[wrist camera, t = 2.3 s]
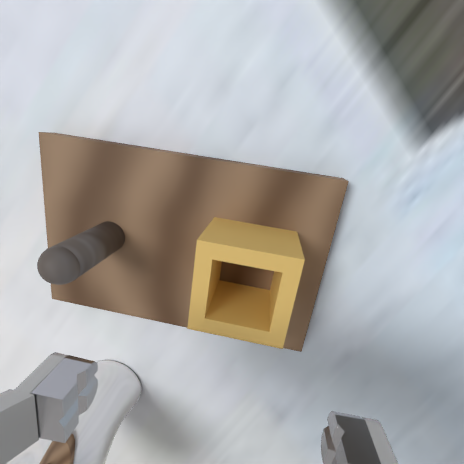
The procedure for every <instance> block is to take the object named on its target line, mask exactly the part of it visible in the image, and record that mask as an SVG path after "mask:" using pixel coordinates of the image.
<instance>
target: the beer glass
mask: <svg viewBox="0 0 464 464" xmlns="http://www.w3.org/2000/svg"><path fill="white" fill-rule="evenodd" d="M97 364H98V371H97V372H96V373H95V377H96V378H97V380H98V388H97V392H96V395H95V397H94V400H93V402H92V404H91V405H90V407H89V408H88V410H87V411H85V412H84V413H82V414H80V415H79V423H78V425H77V426H76V428H75V429H74V431H73V432H72V434H71V435H70V437H69V438H68V440H67V441H66V443H61V442H56V441H51V440H46V439H41V438H39V440H38V441H37V442H35V443H34V444H32V445H31V446H30V447H28V448H27V449H26V450H24V451H23V452H21V453H20V454H19V455H17V456H16V457H14V458H13V459H12V460H10V461H9V462H7V463H6V464H105V462H106V459H107V456H108V453H109V451H110V448H111V445H112V443H113V440H114V437H115V435H116V433H117V431H118V429H119V427H120V425H121V423H122V421H123V420H124V418H125V417H126V416H127V414H128V413H129V412H130V410H131V409H132V408H133V407H134V405H135V404H136V403H137V401H138V400H139V398H140V396H141V391H142V388H141V383H140V381H139V379H138V377H137V376H136V374H135V373H134V372H133V371H132V370H131V369H130V368H128V367H127V366H125V365H124V364H121V363H119V362H116V361H111V360H102V361H98V362H97Z"/></svg>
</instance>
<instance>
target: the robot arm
mask: <svg viewBox="0 0 464 464" xmlns="http://www.w3.org/2000/svg"><path fill="white" fill-rule="evenodd" d="M97 371H98V364H97V362H95V361H90V360H86V359H82V358H78V357H74V356H70V355H65V354H60V353H56V352H55V353H53V354H51V355H50V356H48V357H47V358H46V359H45V360H44V361H43V362H42V363H41V364H40V365H39V366H38V367H37V368H36V369H35V370H34V371H33V372H32V373H31V374H30V375H29V376H28V377H27V378H26V379H25V380H24V381H23V382H22V383H21V384H20V385H19V386H18V387H17V388H16V389H15V390H11V389H9V390H7V391H5V392H3V393H1V394H0V464H6V463H7V462H9V461H10V460H12V459H13V458H14V457H16V456H17V455H19V454H20V453H21V452H23V451H24V450H26V449H27V448H28V447H30V446H31V445H32V444H34V443H35V442H37V441H38V440H39V438H41V439H46V440H51V441H56V442H61V443H66V441H67V440H68V438H69V437H70V435H71V434H72V432H73V431H74V429H75V428H76V426H77V425H78V423H79V415H80V414H82V413H84V412H85V411H87V410H88V408H89V407H90V405H91V404H92V402H93V400H94V397H95V395H96V392H97V388H98V380H97V378H96V377H95V373H96V372H97ZM327 420H328V425H329V426H328V427H326V428H324V430H323V433H322V437H321V454H322V460H323V463H324V464H398V462H397V460H396V458H395V455H394V453H393V451H392V448H391V446H390V444H389V441H388V439H387V436H386V434H385V432H384V429H383V427H382V425H381V423H380V422H379V421H378V420H373V419H368V418H363V417H359V416H354V415H349V414H344V413H339V412H334V411H331V412H330V413H329V416H328V418H327Z"/></svg>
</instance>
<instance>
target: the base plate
mask: <svg viewBox="0 0 464 464" xmlns="http://www.w3.org/2000/svg"><path fill="white" fill-rule="evenodd" d="M39 142H40V154H41V167H42V179H43V192H44V205H45V217H46V230H47V242H48V249H47V250H45V251H44V252H43V253H42V254H41V256H40V258H39V260H38V264H37V268H38V272H39V274H40V276H41V277H42V278H43V279H44V280H45V281H47V282H49V283H51V292H52V299H56V300H60V301H65V302H70V303H75V304H79V305H84V306H89V307H93V308H98V309H103V310H108V311H112V312H117V313H122V314H126V315H131V316H136V317H140V318H145V319H150V320H155V321H159V322H164V323H169V324H173V325H178V326H183V327H188V318H189V309H190V300H191V290H192V281H193V272H194V262H195V253H196V244H197V239H198V238H199V237H200V235H201V234H202V233H203V231H204V230H205V229H206V227H207V226H208V225H209V224H210V222H211V221H212V220H213V218H214V217H217V218H222V219H228V220H234V221H239V222H245V223H251V224H257V225H262V226H268V227H274V228H279V229H285V230H291V231H296V232H297V233H298V237H299V240H300V244H301V248H302V251H303V255H304V259H305V261H304V265H303V269H302V273H301V277H300V281H299V285H298V289H297V293H296V297H295V301H294V305H293V309H292V313H291V317H290V322H289V326H288V330H287V334H286V338H285V342H284V346H283V348H286V349H291V350H296V351H300V352H301V351H302V347H303V344H304V340H305V337H306V333H307V329H308V326H309V322H310V318H311V315H312V311H313V308H314V304H315V300H316V297H317V293H318V290H319V286H320V282H321V279H322V275H323V271H324V268H325V264H326V261H327V257H328V253H329V250H330V246H331V243H332V239H333V235H334V232H335V228H336V224H337V221H338V217H339V214H340V210H341V206H342V203H343V199H344V196H345V192H346V188H347V185H348V181H347V180H345V179H343V178H338V177H332V176H325V175H319V174H312V173H306V172H300V171H293V170H287V169H281V168H274V167H268V166H262V165H255V164H249V163H243V162H236V161H230V160H224V159H217V158H211V157H205V156H198V155H192V154H185V153H179V152H173V151H166V150H160V149H154V148H147V147H141V146H135V145H128V144H122V143H116V142H109V141H103V140H97V139H90V138H84V137H78V136H71V135H65V134H58V133H47V132H39ZM273 274H274V271H271V270H265V269H260V268H255V267H250V266H244V265H239V264H234V263H229V262H223V261H222V265H221V272H220V279H219V280H220V281H226V282H231V283H236V284H241V285H246V286H251V287H256V288H261V289H266V290H270V288H271V283H272V279H273Z"/></svg>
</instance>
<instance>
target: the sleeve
mask: <svg viewBox="0 0 464 464" xmlns="http://www.w3.org/2000/svg"><path fill="white" fill-rule="evenodd" d="M222 261H223V262H229V263H234V264H239V265H244V266H250V267H255V268H260V269H265V270H271V271H274V274H273V279H272V283H271V288H270V290H266V289H261V288H256V287H251V286H246V285H241V284H236V283H231V282H226V281H220V280H219V279H220V272H221V265H222ZM304 261H305V259H304V255H303V251H302V248H301V244H300V240H299V237H298V233H297V232H296V231H291V230H285V229H279V228H274V227H268V226H262V225H257V224H251V223H245V222H239V221H234V220H228V219H222V218H217V217H214V218H213V220H212V221H211V222H210V224H209V225H208V226H207V227H206V229H205V230H204V231H203V233H202V234H201V235H200V237H199V238H198V239H197V244H196V253H195V262H194V272H193V281H192V290H191V300H190V309H189V318H188V327H187V329H192V330H196V331H201V332H206V333H210V334H215V335H220V336H225V337H229V338H234V339H239V340H243V341H248V342H253V343H257V344H262V345H267V346H272V347H276V348H281V349H283V346H284V342H285V338H286V334H287V330H288V326H289V322H290V317H291V313H292V309H293V305H294V301H295V297H296V293H297V289H298V285H299V281H300V277H301V273H302V269H303V265H304Z"/></svg>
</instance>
